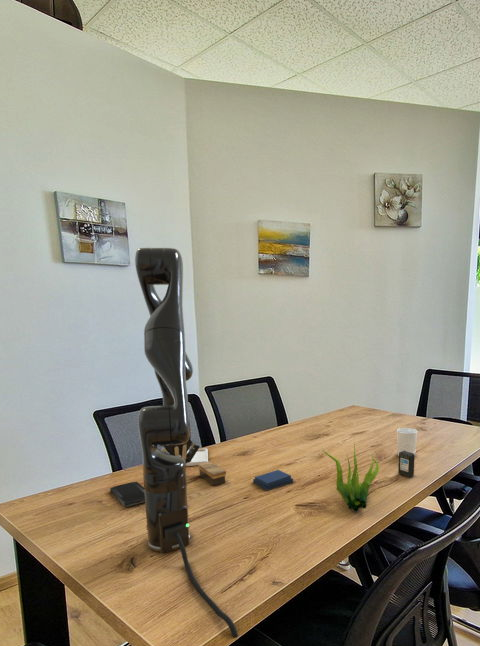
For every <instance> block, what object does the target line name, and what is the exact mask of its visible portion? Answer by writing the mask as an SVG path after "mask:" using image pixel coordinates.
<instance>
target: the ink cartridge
mask: <svg viewBox="0 0 480 646" xmlns="http://www.w3.org/2000/svg"><path fill="white" fill-rule="evenodd" d="M415 457H416V453H415V454H413V453H411V452H407V451H401V452H399V456H398V467H397V469H398V471H397V473H398V475H401V476H404V477H406V478H412V477H413V476H414V475H415Z"/></svg>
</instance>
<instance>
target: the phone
mask: <svg viewBox="0 0 480 646" xmlns="http://www.w3.org/2000/svg"><path fill="white" fill-rule="evenodd" d="M109 490H110V493H111V495H113V496H114V498H115V499H116V500H117V501H118V502H119V503H120V504H121V505H122V506H123V507H124V508H130V507H134V506H137V505H141V504H145V493H144V486H142V485H141V483H139V482H138V481H130V482H128V483H127V482H126V483H123V484H119V485H115V486H114V485H113V486H111V487H110V488H109Z"/></svg>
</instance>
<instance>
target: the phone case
mask: <svg viewBox="0 0 480 646" xmlns="http://www.w3.org/2000/svg"><path fill="white" fill-rule="evenodd" d="M189 450H190V449H189ZM189 450H188V451H187V453H188V452H189ZM187 453H186V454H187ZM208 454H209V451H208V448H207V447H206V448H205V447H204V448H199V449H198V451H197V452H196V454H195V455H194V457H193V458H192V460H191V462H189V463H186V467H195V466H198V464H200V463H205V462H209V455H208Z"/></svg>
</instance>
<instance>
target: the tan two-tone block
mask: <svg viewBox="0 0 480 646" xmlns="http://www.w3.org/2000/svg"><path fill="white" fill-rule="evenodd" d="M197 469H198V470H199V471H198V473H199V477H200V478H201V479H204V481H206V482H207V483H209V484H210V485H212V486H213V487H215V486H218V485H222V484H225V483H226V476H227V471H226V470H225V469H223V468H222V467H220V466H219V465H217V464H215V463H214V462H212V461H211V460H208V462H205V463H200V464H198V465H197Z"/></svg>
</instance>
